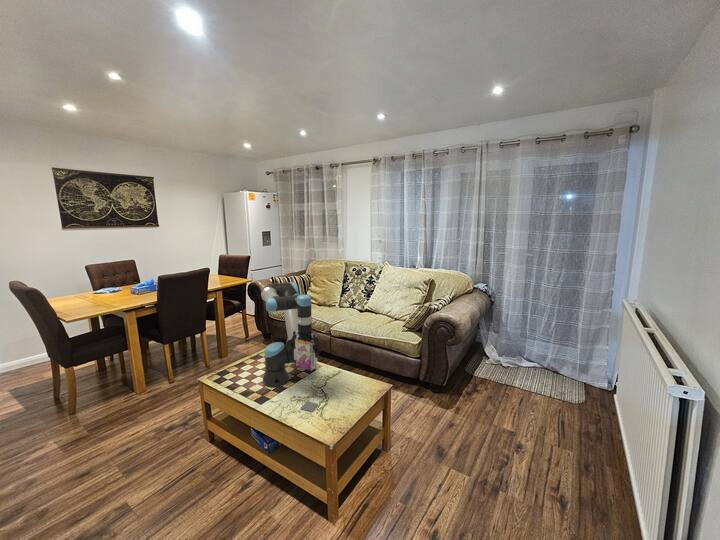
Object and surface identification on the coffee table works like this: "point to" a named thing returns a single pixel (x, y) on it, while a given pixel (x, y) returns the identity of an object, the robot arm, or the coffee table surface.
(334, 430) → the coffee table surface
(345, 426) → the coffee table surface
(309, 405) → the slate coaster
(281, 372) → the robot arm
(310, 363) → the candy bar box
